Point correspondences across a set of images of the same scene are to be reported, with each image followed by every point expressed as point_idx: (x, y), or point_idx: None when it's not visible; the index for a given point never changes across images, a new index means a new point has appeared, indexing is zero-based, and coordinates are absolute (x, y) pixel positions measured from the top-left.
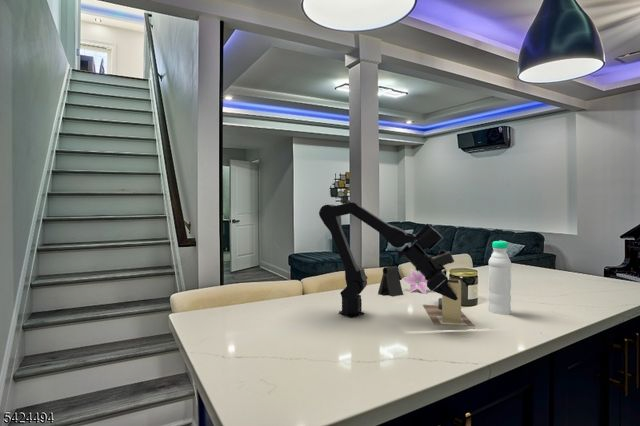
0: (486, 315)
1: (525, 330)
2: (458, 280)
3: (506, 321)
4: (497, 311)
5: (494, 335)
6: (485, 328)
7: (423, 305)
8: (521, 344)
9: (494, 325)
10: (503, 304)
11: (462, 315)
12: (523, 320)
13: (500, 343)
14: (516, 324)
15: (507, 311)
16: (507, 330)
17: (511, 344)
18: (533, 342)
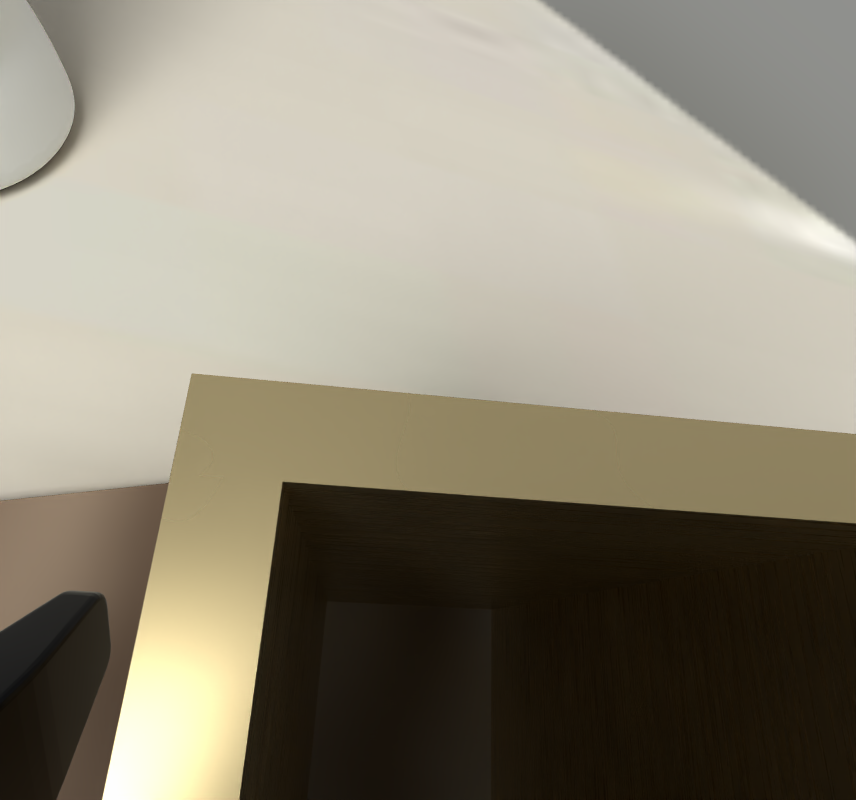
0: (45, 252)
1: (447, 95)
2: (321, 461)
3: (236, 143)
4: (43, 126)
5: (645, 331)
6: (485, 358)
7: None
8: (756, 211)
9: (376, 264)
10: (19, 4)
11: (157, 519)
12: (187, 24)
13: (803, 334)
14: (309, 102)
15: (53, 47)
16: (486, 207)
17: (786, 270)
18: (684, 135)
